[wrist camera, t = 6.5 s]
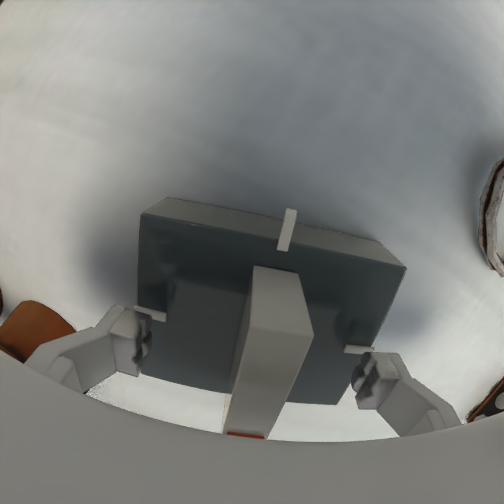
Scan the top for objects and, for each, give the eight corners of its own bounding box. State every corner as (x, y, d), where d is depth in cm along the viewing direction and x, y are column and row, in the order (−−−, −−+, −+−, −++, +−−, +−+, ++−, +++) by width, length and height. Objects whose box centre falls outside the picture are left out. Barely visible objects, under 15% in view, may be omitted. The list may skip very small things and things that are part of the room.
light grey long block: (253, 263, 10) (249, 331, 6) (299, 272, 10) (317, 341, 6) (227, 381, 12) (218, 450, 8) (261, 387, 12) (261, 455, 8)
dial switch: (168, 171, 11) (138, 181, 9) (388, 220, 12) (421, 243, 9) (155, 351, 15) (139, 389, 12) (322, 379, 16) (331, 419, 13)
